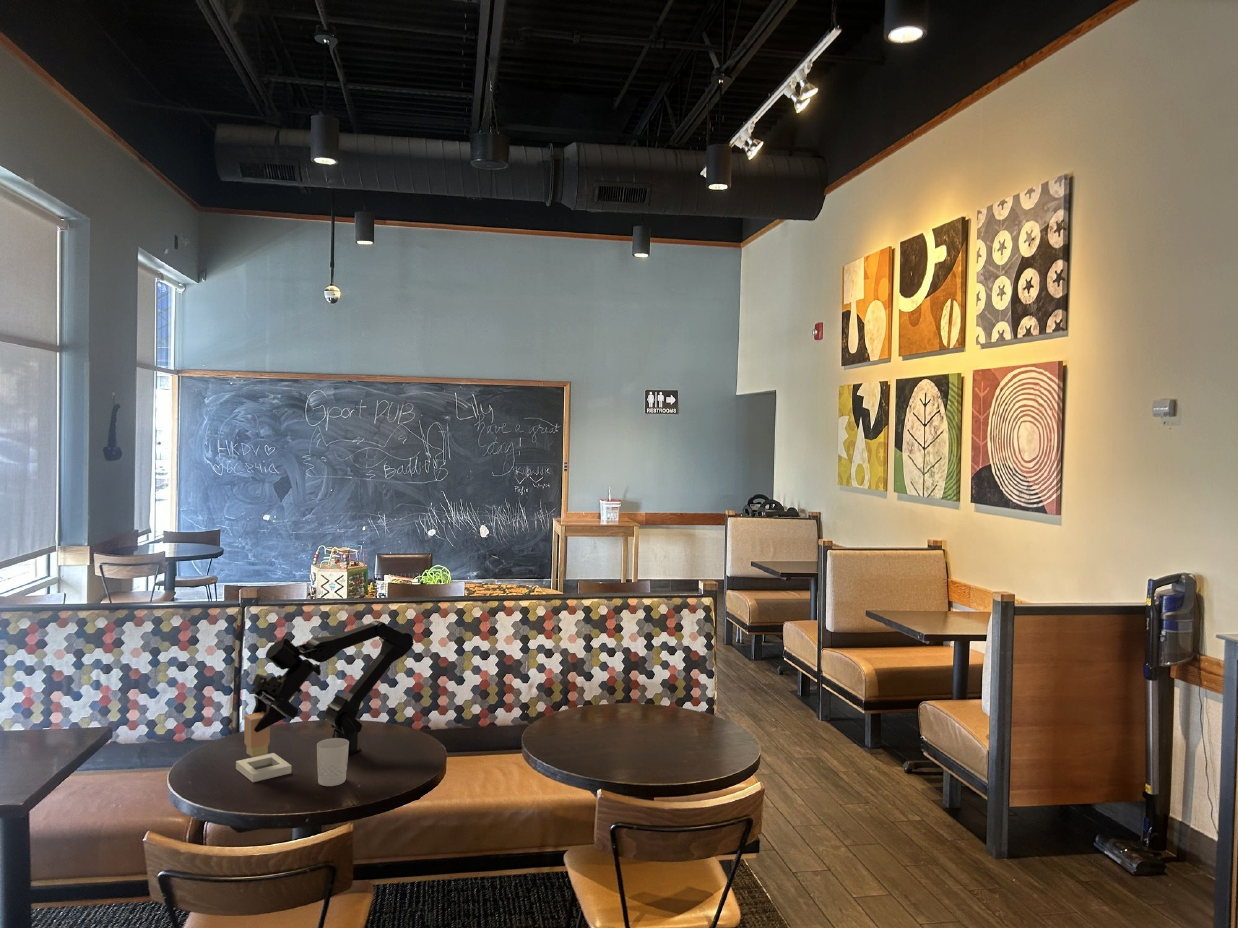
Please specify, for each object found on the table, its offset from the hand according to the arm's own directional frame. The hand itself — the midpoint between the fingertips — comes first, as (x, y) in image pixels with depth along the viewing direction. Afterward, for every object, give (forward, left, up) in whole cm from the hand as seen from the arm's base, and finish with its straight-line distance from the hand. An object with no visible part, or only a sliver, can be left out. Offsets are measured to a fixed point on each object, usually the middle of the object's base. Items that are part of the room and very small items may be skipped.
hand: (251, 728), depth 223 cm
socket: (-1, -3, -12) cm, 12 cm away
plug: (-1, -1, -7) cm, 7 cm away
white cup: (-22, -6, -12) cm, 26 cm away
